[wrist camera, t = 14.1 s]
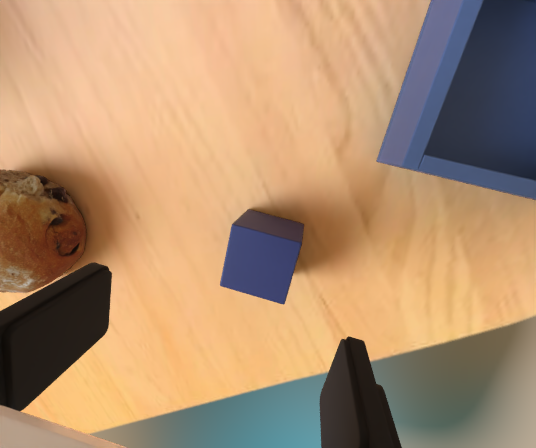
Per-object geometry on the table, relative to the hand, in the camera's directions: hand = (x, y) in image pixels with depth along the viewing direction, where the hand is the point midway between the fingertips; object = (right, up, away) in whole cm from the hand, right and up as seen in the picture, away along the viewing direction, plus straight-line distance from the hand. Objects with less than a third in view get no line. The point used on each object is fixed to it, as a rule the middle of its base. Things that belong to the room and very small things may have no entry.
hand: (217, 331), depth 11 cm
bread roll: (-18, +4, +14) cm, 23 cm away
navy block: (+2, +3, +11) cm, 11 cm away
